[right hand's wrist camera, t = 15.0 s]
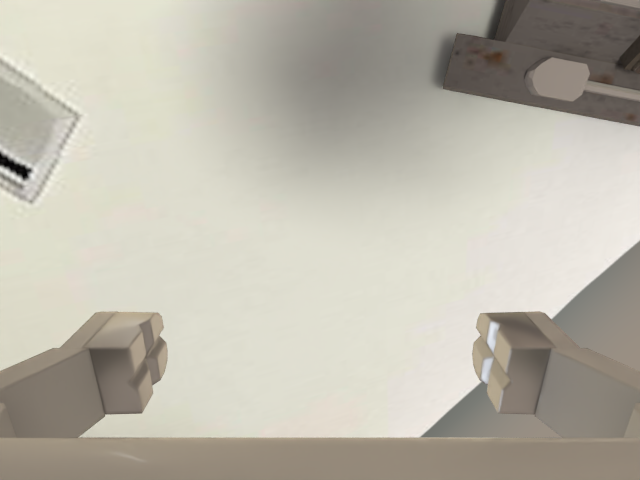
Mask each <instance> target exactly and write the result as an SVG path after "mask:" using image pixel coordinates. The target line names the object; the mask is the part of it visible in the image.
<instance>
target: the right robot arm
mask: <svg viewBox="0 0 640 480" xmlns="http://www.w3.org/2000/svg"><path fill="white" fill-rule="evenodd" d="M163 328H164V326H163V321H162V316H161V315H160V314H159V313H152V312H97V313H95V314H94V315H93V316H92V317H91V318H90V319H89V320H88V321H87V322H86V323H85V324H84V325H83V326H82V327H81V328H80V329H79V330H78V331H77V332H76V333H75V334H73V335H72V336H71V337H70V338H69V339H68V340H67V341H66V342H65V343H64V344H63V345H62V346H61V347H60V348H52V349H50V350H48V351H45V352H43V353H41V354H39V355H36V356H34V357H32V358H29V359H27V360H25V361H22V362H20V363H18V364H16V365H13V366H11V367H9V368H6V369H4V370H2V371H0V480H640V371H638V370H636V369H633V368H631V367H629V366H627V365H624V364H622V363H620V362H617V361H615V360H613V359H611V358H608V357H606V356H604V355H601V354H599V353H597V352H595V351H592V350H590V349H588V348H580V347H579V346H578V345H577V344H576V343H575V342H574V341H573V340H572V339H571V338H570V337H569V336H568V335H567V334H566V333H565V332H563V331H562V330H561V329H560V328H559V327H558V326H557V325H556V324H555V323H554V322H553V321H552V320H551V319H550V318H549V317H548V316H547V315H546V314H545V313H543V312H540V311H538V312H505V313H480V315H479V317H478V320H477V326H476V328H477V330H478V331H479V333H480V335H481V336H480V337H479V338H478V339H477V340H476V341H475V342H474V345H473V353H472V356H473V365H474V369H475V372H476V374H477V376H478V378H479V380H480V381H482V382H483V383H485V384H487V385H488V388H487V394H488V396H489V398H490V400H491V402H492V403H493V405H494V407H495V409H496V410H497V412H498V413H502V414H535V417H537V418H538V419H539V420H541V421H542V422H543V423H544V424H546V425H547V426H548V427H550V428H551V429H552V430H553V431H555V432H556V433H557V434H559V435H560V436H561V437H562V438H78V437H79V436H80V435H82V434H83V433H84V432H85V431H87V430H88V429H89V428H91V427H92V426H93V425H94V424H96V423H97V422H98V421H100V420H101V419H102V418H103V417H105V414H137V413H142V412H143V411H144V409H145V407H146V405H147V403H148V402H149V400H150V398H151V396H152V394H153V388H152V385H154V384H155V383H157V382H158V381H160V380H161V378H162V376H163V374H164V372H165V368H166V364H167V344H166V342H165V341H164V340H163V339H162V338H161V337H160V336H159V335H160V333H161V331H162V330H163Z"/></svg>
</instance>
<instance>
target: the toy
mask: <svg viewBox="0 0 640 480" xmlns="http://www.w3.org/2000/svg"><path fill="white" fill-rule="evenodd" d="M443 89H446V90H451V91H456V92H462V93H467V94H472V95H477V96H483V97H488V98H493V99H499V100H504V101H509V102H514V103H520V104H525V105H530V106H535V107H541V108H546V109H551V110H557V111H562V112H567V113H572V114H578V115H583V116H588V117H594V118H599V119H604V120H609V121H615V122H620V123H625V124H631V125H636V126H640V0H506V1H505V4H504V8H503V11H502V14H501V18H500V21H499V25H498V28H497V31H496V35H495V38H494V40H492V39H487V38H482V37H477V36H471V35H465V34H458V33H457V36H456V39H455V43H454V47H453V51H452V54H451V58H450V62H449V65H448V69H447V73H446V77H445V80H444V84H443Z"/></svg>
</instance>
